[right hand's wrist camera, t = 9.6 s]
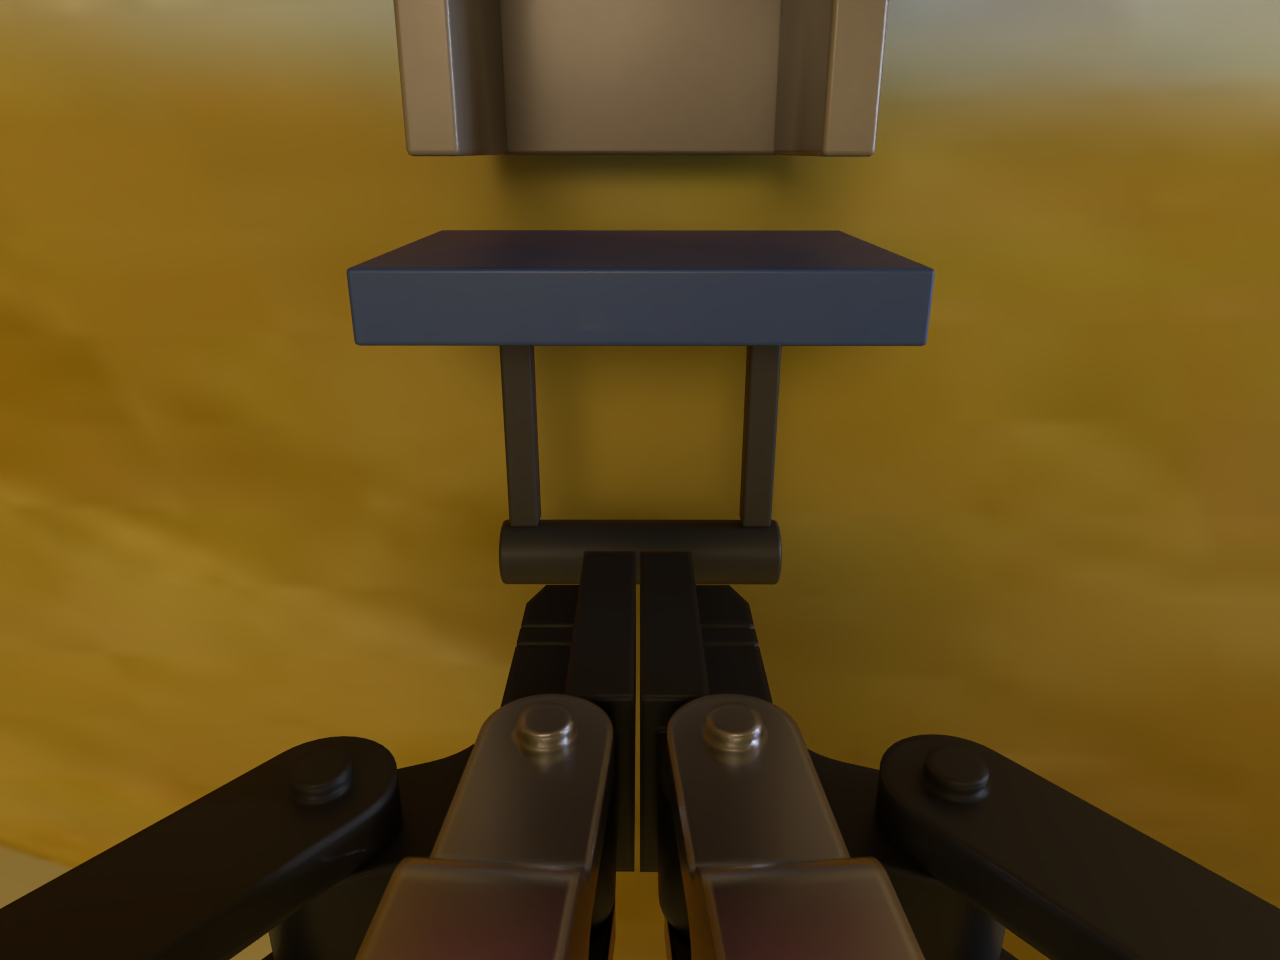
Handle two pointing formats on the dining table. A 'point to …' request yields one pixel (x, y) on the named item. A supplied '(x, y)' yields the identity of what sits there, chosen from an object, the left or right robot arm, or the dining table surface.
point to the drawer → (640, 260)
